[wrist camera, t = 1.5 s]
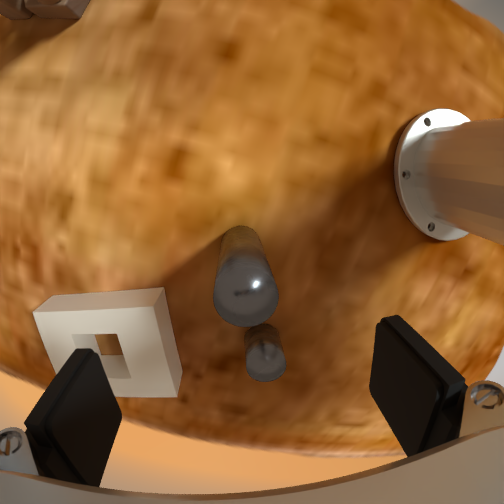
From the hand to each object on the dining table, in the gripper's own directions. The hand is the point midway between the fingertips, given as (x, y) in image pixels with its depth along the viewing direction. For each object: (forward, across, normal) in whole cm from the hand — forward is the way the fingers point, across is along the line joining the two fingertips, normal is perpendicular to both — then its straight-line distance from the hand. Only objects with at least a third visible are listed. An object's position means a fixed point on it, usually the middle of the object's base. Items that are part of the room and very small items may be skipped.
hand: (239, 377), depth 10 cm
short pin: (+17, -2, +9) cm, 19 cm away
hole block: (+17, +12, +7) cm, 23 cm away
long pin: (+17, -1, 0) cm, 17 cm away
